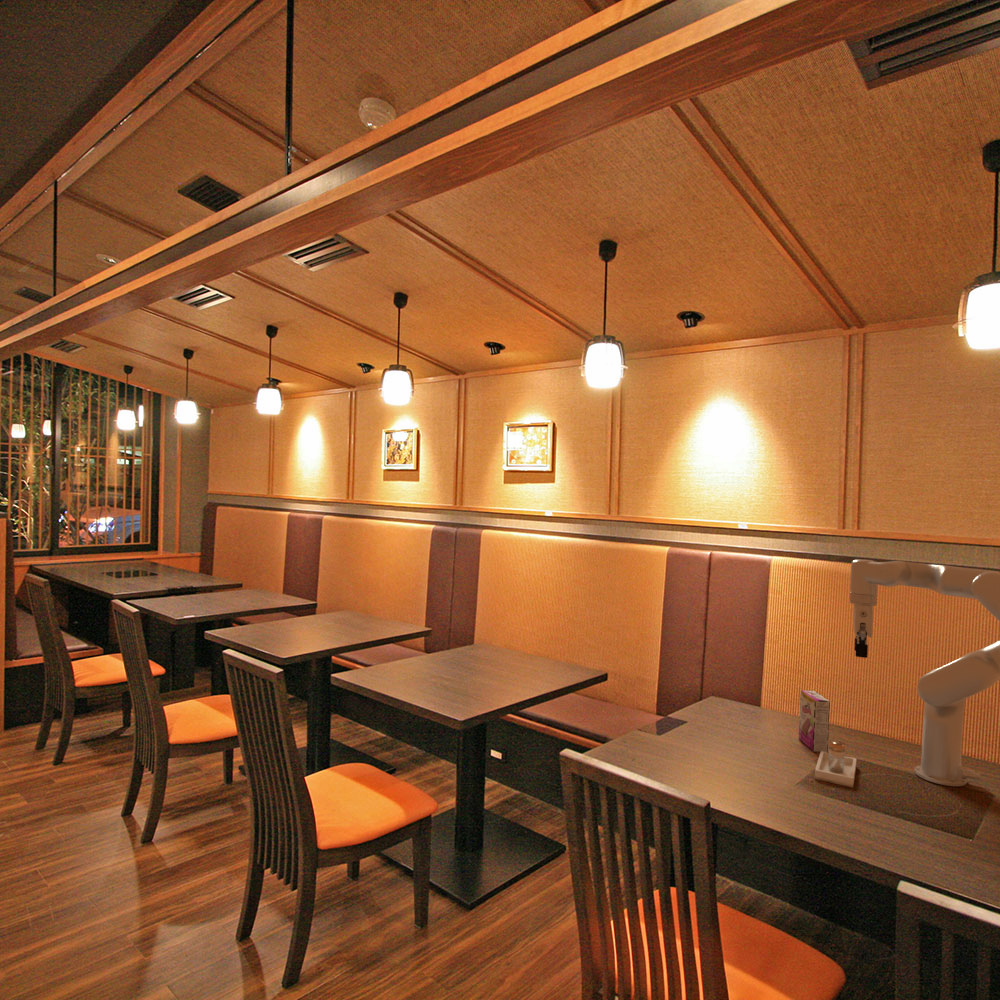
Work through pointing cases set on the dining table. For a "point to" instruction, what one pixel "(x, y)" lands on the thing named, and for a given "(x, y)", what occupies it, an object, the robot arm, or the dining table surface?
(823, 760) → the white rectangular tray
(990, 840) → the dining table surface
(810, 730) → the candy bar box
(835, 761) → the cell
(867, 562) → the robot arm
